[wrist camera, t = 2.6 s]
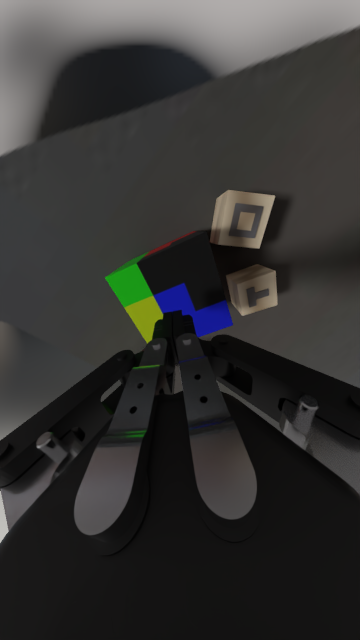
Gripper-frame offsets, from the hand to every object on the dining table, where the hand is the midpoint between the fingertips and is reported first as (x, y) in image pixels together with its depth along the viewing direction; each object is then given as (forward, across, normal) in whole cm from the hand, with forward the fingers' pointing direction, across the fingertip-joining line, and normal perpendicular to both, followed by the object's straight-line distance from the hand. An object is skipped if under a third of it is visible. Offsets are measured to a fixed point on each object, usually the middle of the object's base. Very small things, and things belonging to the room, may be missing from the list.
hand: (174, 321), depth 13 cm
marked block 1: (+14, -9, -6) cm, 18 cm away
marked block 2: (+14, -11, +3) cm, 18 cm away
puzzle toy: (+14, 0, 0) cm, 14 cm away
